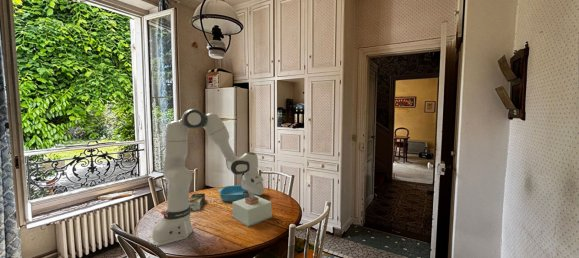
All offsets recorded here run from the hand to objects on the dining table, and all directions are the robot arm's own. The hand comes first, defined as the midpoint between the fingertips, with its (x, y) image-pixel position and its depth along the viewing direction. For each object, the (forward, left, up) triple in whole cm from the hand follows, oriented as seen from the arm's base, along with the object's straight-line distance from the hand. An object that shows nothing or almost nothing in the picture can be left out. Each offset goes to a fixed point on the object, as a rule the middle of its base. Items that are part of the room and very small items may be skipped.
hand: (252, 198), depth 152 cm
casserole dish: (+15, +36, -13) cm, 41 cm away
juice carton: (-18, +46, -13) cm, 51 cm away
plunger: (0, 0, -12) cm, 12 cm away
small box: (+12, +18, -13) cm, 25 cm away
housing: (0, 0, -13) cm, 13 cm away
